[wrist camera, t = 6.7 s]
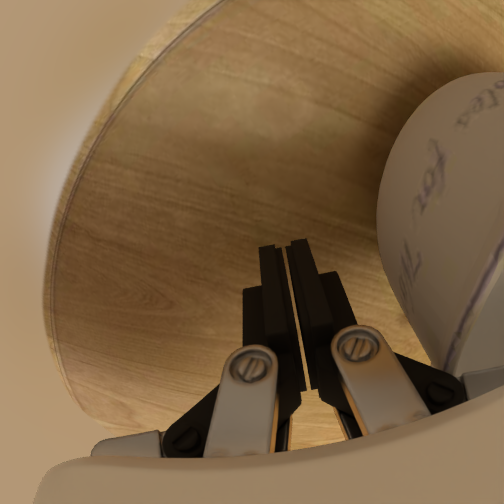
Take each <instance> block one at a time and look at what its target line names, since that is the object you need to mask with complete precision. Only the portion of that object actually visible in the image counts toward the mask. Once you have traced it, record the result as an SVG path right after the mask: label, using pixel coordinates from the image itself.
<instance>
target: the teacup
mask: <svg viewBox="0 0 504 504" xmlns="http://www.w3.org/2000/svg"><path fill="white" fill-rule="evenodd" d="M376 218H377V239H378V247H379V252H380V257H381V260H382V264H383V268H384V271H385V273H386V276H387V278H388V281H389V283H390V286H391V288H392V290H393V292H394V294H395V296H396V298H397V300H398V302H399V304H400V306H401V308H402V310H403V311H404V313H405V315H406V317H407V319H408V321H409V323H410V324H411V326H412V328H413V330H414V332H415V333H416V335H417V337H418V339H419V341H420V343H421V344H422V346H423V348H424V350H425V352H426V353H427V355H428V357H429V359H430V361H431V367H433V368H436V369H439V370H441V371H444V372H447V373H449V374H451V375H453V376H455V377H459V376H461V375H462V373H465V372H471V371H477V370H483V369H488V368H493V367H498V366H503V365H504V72H485V73H476V74H470V75H467V76H463V77H460V78H457V79H455V80H453V81H450V82H449V83H447V84H445V85H444V86H442V87H441V88H439V89H437V90H436V91H435V92H433V93H432V94H431V95H429V96H428V97H427V98H426V99H425V100H424V101H423V102H422V103H421V104H420V105H419V106H418V107H417V109H416V110H415V111H414V112H413V114H412V115H411V116H410V117H409V119H408V120H407V122H406V123H405V125H404V126H403V128H402V130H401V131H400V133H399V135H398V137H397V139H396V141H395V143H394V145H393V147H392V149H391V151H390V154H389V157H388V159H387V162H386V165H385V169H384V173H383V176H382V180H381V183H380V189H379V195H378V203H377V213H376Z"/></svg>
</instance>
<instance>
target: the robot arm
mask: <svg viewBox="0 0 504 504" xmlns="http://www.w3.org/2000/svg"><path fill="white" fill-rule="evenodd" d="M285 248H286V253H287V259H288V264H289V270H290V275H291V281H292V287H293V292H294V298H295V304H296V309H297V315H298V320H299V325H300V330H301V336H302V341H303V346H304V352H305V357H306V363H307V368H308V374H309V379H310V385H311V390H314V389H318V392H319V398H321V400H322V401H324V402H326V403H327V404H329V405H331V406H333V409H334V412H335V415H336V417H337V420H338V422H339V425H340V427H341V430H342V432H343V435H344V437H345V440H346V441H341V442H337V443H332V444H327V445H322V446H316V447H311V448H305V449H298V450H292V451H290V448H291V435H292V420H293V418H292V414H293V413H294V411H295V410H296V409H297V408H298V407H299V406H300V405H301V401H302V400H301V393H300V392H303V391H307V388H306V382H305V376H304V370H303V364H302V358H301V352H300V346H299V340H298V334H297V328H296V323H295V317H294V312H293V306H292V301H291V295H290V290H289V285H288V279H287V274H286V269H285V263H284V258H283V253H282V248H281V247H280V248H275V245H269V246H263V247H259V258H260V271H261V284H262V285H261V286H256V287H250V288H245V289H243V347H241V348H239V349H237V350H236V351H234V352H233V353H231V355H230V356H229V357H228V358H227V359H226V362H225V364H224V367H223V372H222V376H221V380H220V384H219V385H218V386H216V387H215V388H214V389H213V390H212V391H211V392H210V393H208V394H207V395H206V396H205V397H204V398H203V399H202V400H200V401H199V402H198V403H197V404H196V405H195V406H194V407H192V408H191V409H190V410H189V411H188V412H187V413H185V414H184V415H183V416H182V417H181V418H179V419H178V420H177V421H176V422H175V423H173V424H172V425H171V426H170V427H169V428H168V429H167V431H164V432H160V431H159V430H154V431H149V432H144V433H139V434H133V435H128V436H122V437H116V438H109V439H105V440H102V441H100V442H98V443H97V444H96V445H95V446H94V448H93V449H92V451H91V456H89V457H82V458H77V459H73V460H70V461H66V462H63V463H61V464H58V465H56V466H54V467H53V468H51V469H50V470H49V471H48V472H47V473H46V474H45V476H44V477H43V479H42V481H41V482H40V485H39V487H38V490H37V493H36V495H35V498H34V502H33V504H504V365H503V366H498V367H493V368H488V369H483V370H477V371H471V372H465V373H462V375H461V376H459V377H455V376H453V375H451V374H449V373H447V372H444V371H441V370H439V369H436V368H433V367H431V366H428V365H426V364H423V363H420V362H418V361H415V360H413V359H410V358H408V357H405V356H403V355H400V354H397V353H395V352H393V351H392V350H391V348H390V346H389V345H388V343H387V342H386V340H385V339H384V337H383V336H382V334H381V333H380V332H379V331H378V330H376V329H374V328H373V327H370V326H366V325H358V324H357V321H356V319H355V316H354V313H353V311H352V308H351V306H350V303H349V301H348V298H347V295H346V293H345V290H344V288H343V285H342V283H341V280H340V278H339V275H338V273H337V272H336V271H333V272H328V273H323V274H318V271H317V268H316V265H315V262H314V259H313V256H312V253H311V250H310V247H309V244H308V241H307V239H306V238H305V239H299V240H294V241H291V246H286V247H285Z"/></svg>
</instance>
